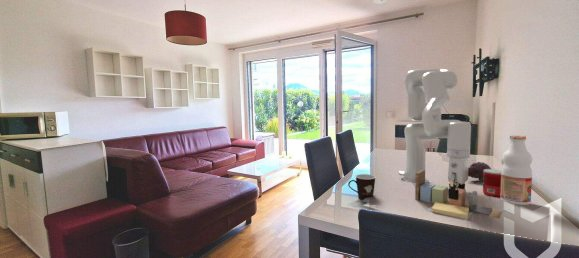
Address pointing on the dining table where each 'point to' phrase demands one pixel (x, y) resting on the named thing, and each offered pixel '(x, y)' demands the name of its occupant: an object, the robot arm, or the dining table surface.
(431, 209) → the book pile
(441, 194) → the olive book
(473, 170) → the pine cone
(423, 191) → the blue book
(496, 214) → the shelf
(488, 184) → the canned food
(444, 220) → the dining table surface
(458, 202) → the terracotta book
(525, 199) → the fruit juice
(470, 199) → the bookend
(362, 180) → the coffee mug
